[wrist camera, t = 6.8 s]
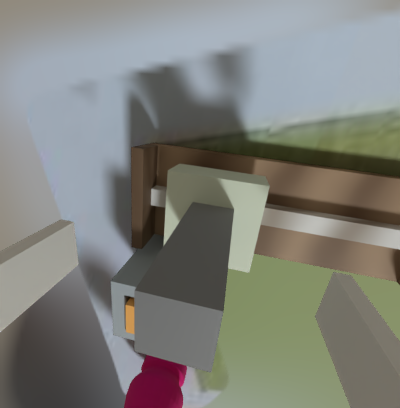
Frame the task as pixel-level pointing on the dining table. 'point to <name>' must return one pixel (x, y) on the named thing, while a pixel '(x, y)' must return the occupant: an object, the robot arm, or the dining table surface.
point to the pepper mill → (157, 385)
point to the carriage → (197, 262)
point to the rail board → (289, 208)
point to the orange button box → (131, 282)
